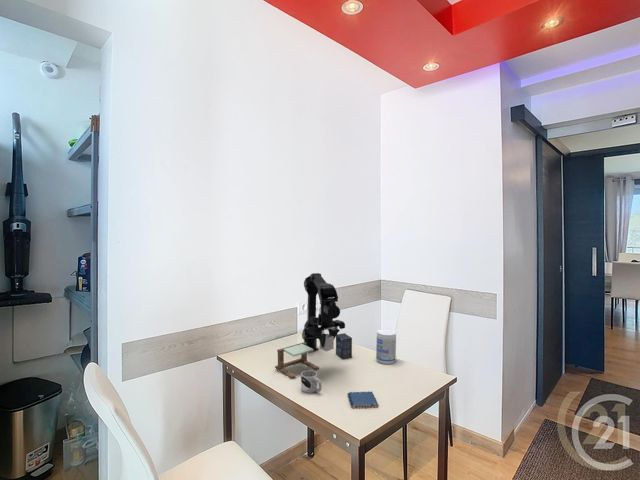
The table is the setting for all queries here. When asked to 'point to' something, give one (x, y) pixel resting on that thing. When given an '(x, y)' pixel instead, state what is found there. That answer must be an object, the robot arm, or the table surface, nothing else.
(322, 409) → the table surface
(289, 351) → the trapdoor
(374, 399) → the woven mat
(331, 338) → the grey rectangular block
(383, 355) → the supplement tub
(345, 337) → the box
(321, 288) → the robot arm
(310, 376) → the mug
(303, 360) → the frame
